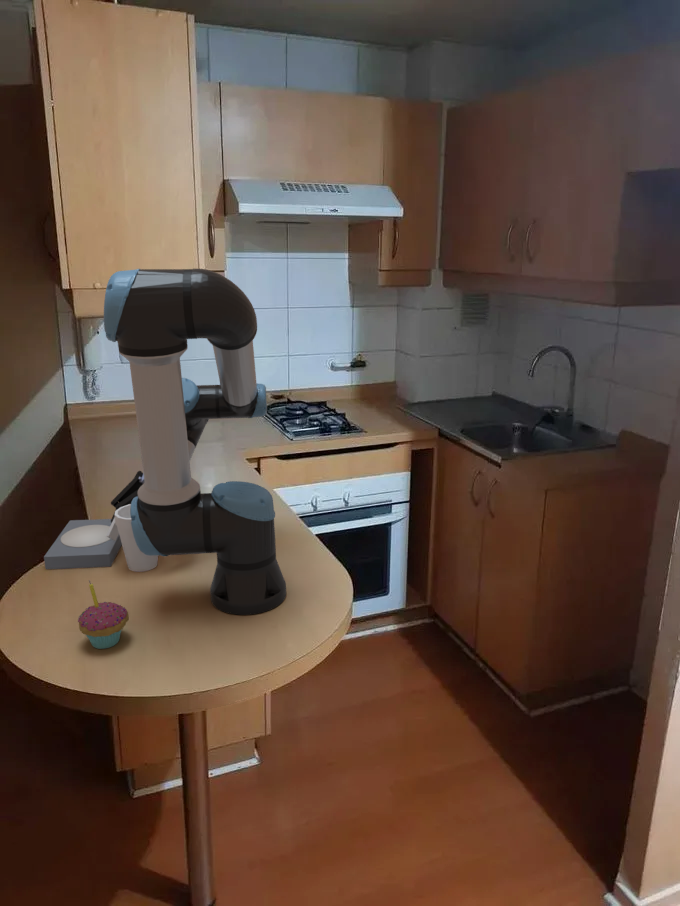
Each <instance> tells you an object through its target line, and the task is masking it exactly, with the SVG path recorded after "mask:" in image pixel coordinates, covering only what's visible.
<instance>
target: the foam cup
mask: <svg viewBox="0 0 680 906" xmlns="http://www.w3.org/2000/svg"><path fill="white" fill-rule="evenodd" d="M130 508H131V504H128V505H126V506H123V507H120V508H119V509H117V510H116V509H115V510H116V511H115V510H114V513H115V523H116V525H117V528H118V532H119V535H120V539H121V543H122V545H121V547H122V551H123V554H124V558H125V561H126V562H125V563H126V565H127V568H128V569H129V570H130V571H132V572H135V573H137V572H139V573H141V572H142V573H143V572H148V571H151V570H153V569H155V568H156V567H157V566H158V560H159V559H158V557H159V556H149V555H146V554H144V553H143V552H141V551H140V549H139V548H138V546H137V544H136V542H135V539H134V535H133V531H132V526H131V515H130Z"/></svg>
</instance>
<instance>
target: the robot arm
mask: <svg viewBox="0 0 680 906" xmlns="http://www.w3.org/2000/svg"><path fill="white" fill-rule="evenodd" d="M255 310H256V309H255V308H254V305H253V304H252V302H251V300H250V299H249V297H248V296H247V294H245V292H244V291H243V290H242V289H241V288H240V287H239V286H238V285H237V284H235V282H233V281H232V280H230V279H229V278H228V277H225V276H224V275H222V274H220V273H218V272H216V271H213V270H209V269H206V268H187V269H185V268H183V269H182V268H181V269H179V268H175V269H174V268H172V269H170V268H167V269H166V268H163V269H162V268H161V269H160V268H155V269H153V268H151V269H149V268H148V269H147V268H146V269H145V268H136V269H128V270H126V269H125V270H119V271H116V272H114V273H113V274H112V275H110V277H109V278H108V281H107V284H106V288H105V294H104V303H103V327H104V332H105V338H106V339H107V340H108V341H111V342H113V343H116V342H117V346H118V353H119V354H120V355H121V356H122V357H123V358H125V359H126V360H127V361H128V362H129V368H130V376H131V384H132V392H133V401H134V408H135V409H134V410H135V415H136V416H135V417H136V424H137V432H138V441H139V448H140V449H139V451H140V454H141V464H142V471H141V470H138V471H137V472H136V473H135V475H134V477H133V478H132V480H130V481H129V483H128V484H127V485H126V486H125V487H124V488H123V489H122V490H121V491H120V492H119V493H118V494H117V495H116V496H115V497H114V498H113V499H112V500H111V502H110V505H111V506H113V507H114V508H115V510H114V512H113V514H112V517H111V518H110V519H111V523H112V524H111V526H110V528H109V530H108V532H107V534H106V536H107V537H108V538H110V539H111V540H113V541H116V539H117V537H118V535H119V532H118V528H117V525H116V523H115V511H116V510H117V509H119V508H120V507H123V506H126V505H128V504H131V508H130V515H131V526H132V531H133V535H134V539H135V542H136V544H137V546H138V548H139V549H140V551H141V552H143V553H144V554H146V555H149V556H158V557H159V556H161V557H169V556H179V555H180V556H181V555H183V556H184V555H198V554H216V561H217V563H216V568H215V571H214V574H213V578H212V581H211V585H210V588H209V589H210V591H209V592H210V601H211V604H212V605H213V606H214V607H215V609H217V610H219V611H221V612H224V613H227V614H231V615H238V616H240V615H241V616H243V615H244V616H246V615H247V616H248V615H255V614H262V613H266V612H268V611H271V610H273V609H274V608H275V609H276V608H277V607H278V606H280V605H281V604H282V603H283V602H284V601H285V599H286V597H287V583H286V580H285V577H284V575H283V572H282V570H281V568H280V565H279V563H278V560H277V553H276V552H277V550H276V549H277V548H276V547H277V546H276V530H275V529H276V528H275V518H276V511H275V508H274V507H275V506H274V498H273V495H272V494H271V492H270V491H269V490H268V489H267V488H265V487H263V486H261V485H260V484H256V483H252V482H248V481H240V480H238V481H235V480H232V481H231V480H229V481H226V482H220V483H218V484H216V485H215V486H213V488H212V490H211V492H210V493H209V492H207V493H201V485H200V483H199V482H198V481H197V480H196V479H194V478H192V474H191V473H192V472H191V471H192V470H191V460H192V457H193V454H194V453H195V450H196V448H197V446H198V443H199V441H200V439H201V436H202V434H203V433H204V430H205V428H206V425H207V424H208V422H209V420H219V419H253V418H260V417H261V418H262V417H264V416H266V414H267V413H268V411H267V410H268V406H267V405H268V403H267V402H268V400H267V387H266V385H265V384H263V383H257V374H256V363H255V350H254V339H255V338H256V336H257V332H258V319H257V313H256V312H255ZM197 339H206V340H207V341H208V342H209V343H210V344H211V345H212V348H213V355H214V359H215V364H216V365H215V366H216V368H217V369H216V370H217V375H218V378H219V379H218V381H219V384H201V385H197V384H196V383H195V382H194V381H193V380H191V379H188V378H186V377H183V376H182V364H181V357H182V356H183V355H184V353H185V352H186V351H187V350H188V340H197Z"/></svg>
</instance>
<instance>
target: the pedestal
mask: <svg viewBox="0 0 680 906" xmlns="http://www.w3.org/2000/svg"><path fill="white" fill-rule="evenodd" d="M111 519H112V518H103V519H102V518H100V519H97V518H96V519H95V518H94V519H73V520H70V519H69V521H68V523H67V524H66V525H65V527H64V528H63V529H62V531H61V532H60V533H59V535H58V536H57V538H56V539H55V540H54V542H53V543H52V545H51V546H50V547H49V549H48V551H47V552H46V553H45V555H44V556H43V561H44V568H45V570H62V569H64V570H65V569H78V568H79V569H82V568H83V569H85V568H87V569H88V568H105V567H106V568H107V567H112V565H113V562H114V561H115V559H116V557H117V555H118V553H119V551H120V550H121V547H122V543H121V539H120V535H118V537H117V539H116V541H113V540H111V539H110V538H108V537H107V536H106V534H107V532H108V530H109V528H110V526H111V524H112V523H111Z"/></svg>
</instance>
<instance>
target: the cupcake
mask: <svg viewBox="0 0 680 906" xmlns="http://www.w3.org/2000/svg"><path fill="white" fill-rule="evenodd" d="M88 582H89V589H90V594H91V597H92V600H93V604H92V605H91V606H88V608H85V610H84V611H82V612H81V614H80V615H79V616H78V619H77V623H78V629H79V632H81V633H82V634H83V635H85V636H86V637H87V638H88V641H89V642H90V644H91V646H92V647H93V648H95V649H98V650H99V649H100V650H102V649H103V650H105V649H110V648H112V647H114V646H116V645H117V644H118V643H119V641H120V637H121V634H122V633H121V632H122V630H123V628H124V627H125V626H126V624H127V623H128V621H129V619H130V618H129V617H130V616H129V612H128V610H127V609H126V607H125V606H122V604H119V603H116V602H112V601H110V602H109V601H107V602H106V601H104V602H98V601H99V600H98V597H97V594H96V591H95V587H94V584H93V583H92V582H91V580H90V579H89V580H88Z"/></svg>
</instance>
